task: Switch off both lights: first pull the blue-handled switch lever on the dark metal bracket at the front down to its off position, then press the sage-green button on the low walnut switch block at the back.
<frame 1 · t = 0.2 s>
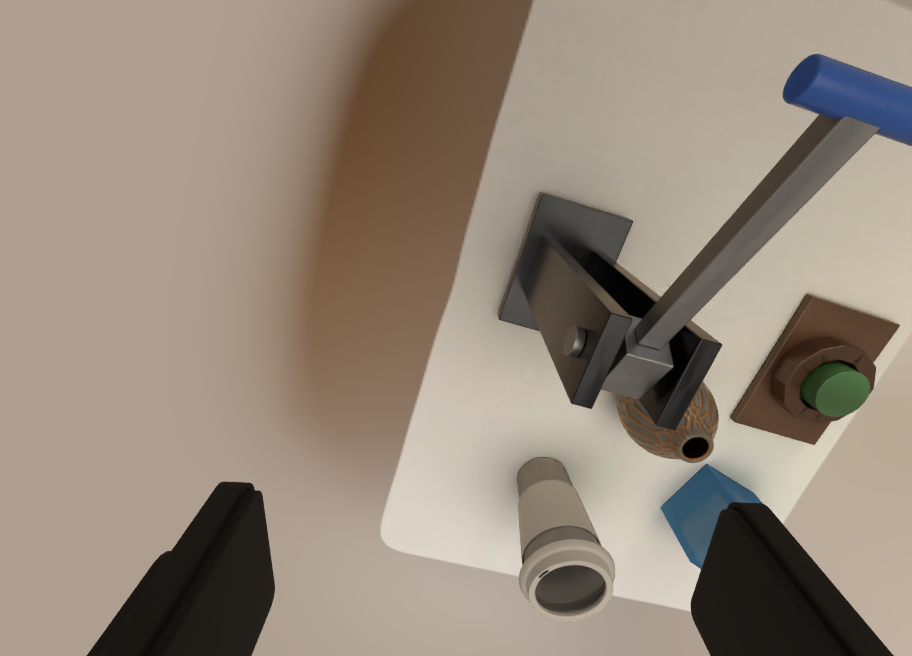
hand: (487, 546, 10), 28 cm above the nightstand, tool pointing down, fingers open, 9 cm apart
button block: (808, 371, 40), on the nightstand
perfume bottle: (706, 499, 45), on the nightstand
light button: (834, 389, 37), point 3 cm above the nightstand, slide at 0.1 cm
vase: (647, 385, 40), on the nightstand
cup: (541, 476, 44), on the nightstand
light lever: (710, 271, 17), point 19 cm above the nightstand, hinge at 28.0°
switch bracket: (560, 268, 36), on the nightstand
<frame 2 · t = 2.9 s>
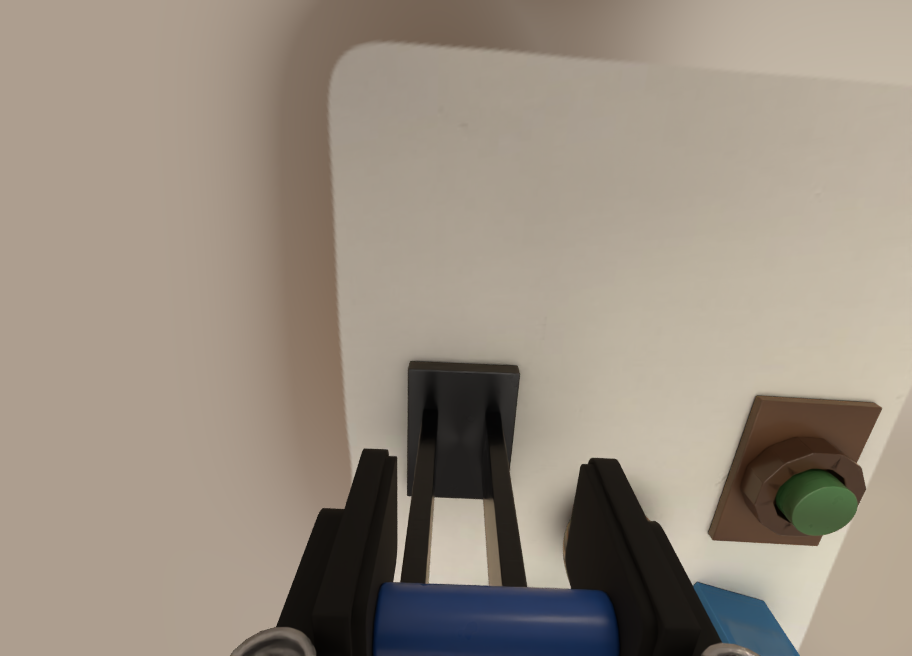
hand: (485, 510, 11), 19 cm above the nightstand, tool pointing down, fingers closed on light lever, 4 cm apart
button block: (785, 472, 33), on the nightstand
perfume bottle: (709, 614, 39), on the nightstand
light button: (815, 502, 31), point 3 cm above the nightstand, slide at 0.1 cm
switch bracket: (460, 428, 32), on the nightstand
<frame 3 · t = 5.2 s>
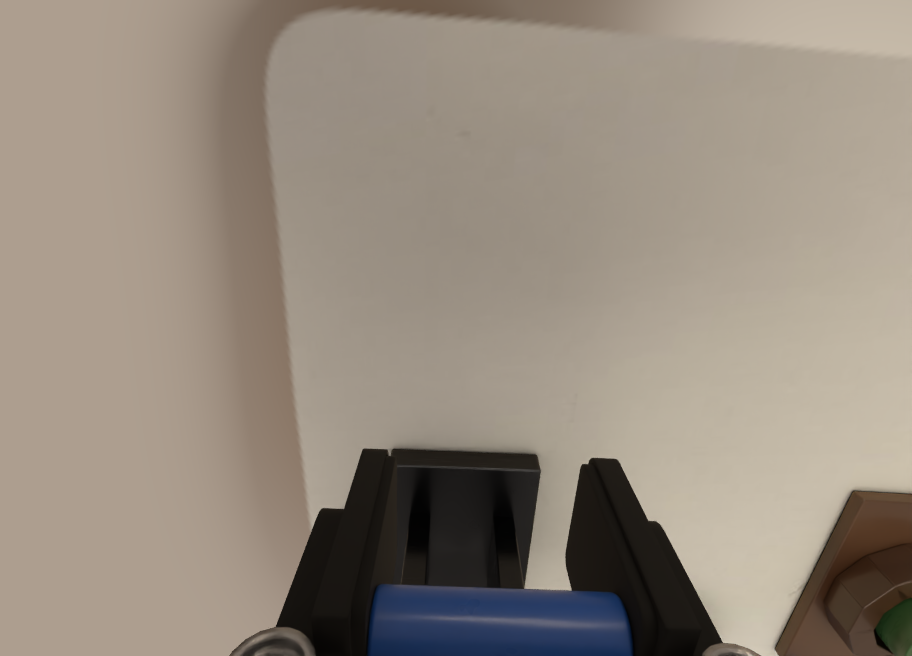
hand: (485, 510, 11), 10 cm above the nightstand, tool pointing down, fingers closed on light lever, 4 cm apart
button block: (881, 580, 26), on the nightstand
switch bracket: (459, 530, 24), on the nightstand
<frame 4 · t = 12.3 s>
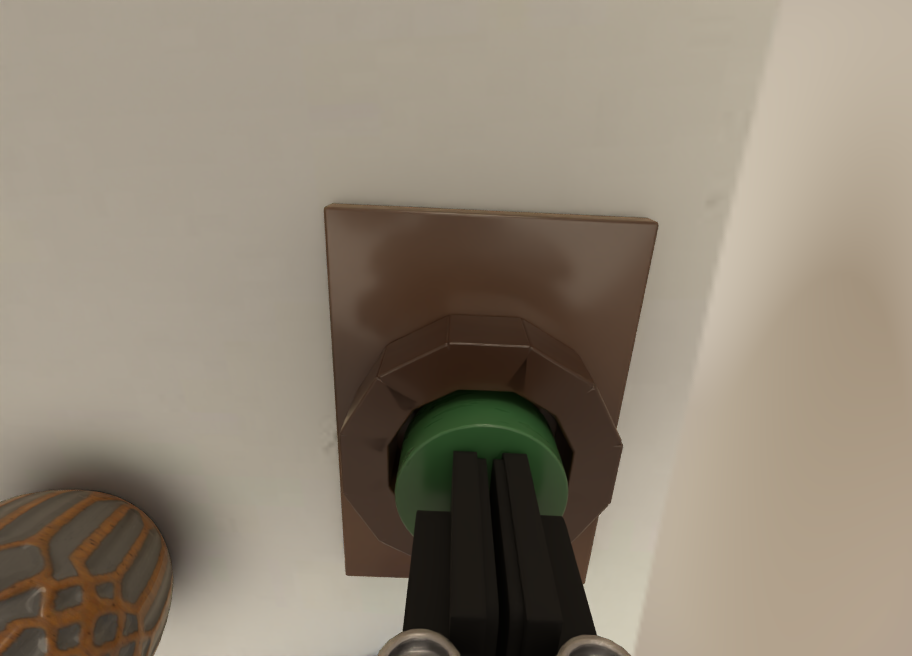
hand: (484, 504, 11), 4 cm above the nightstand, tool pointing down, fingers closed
button block: (475, 415, 14), on the nightstand
light button: (479, 473, 12), point 3 cm above the nightstand, slide at -0.3 cm, touching gripper
vase: (108, 532, 16), on the nightstand
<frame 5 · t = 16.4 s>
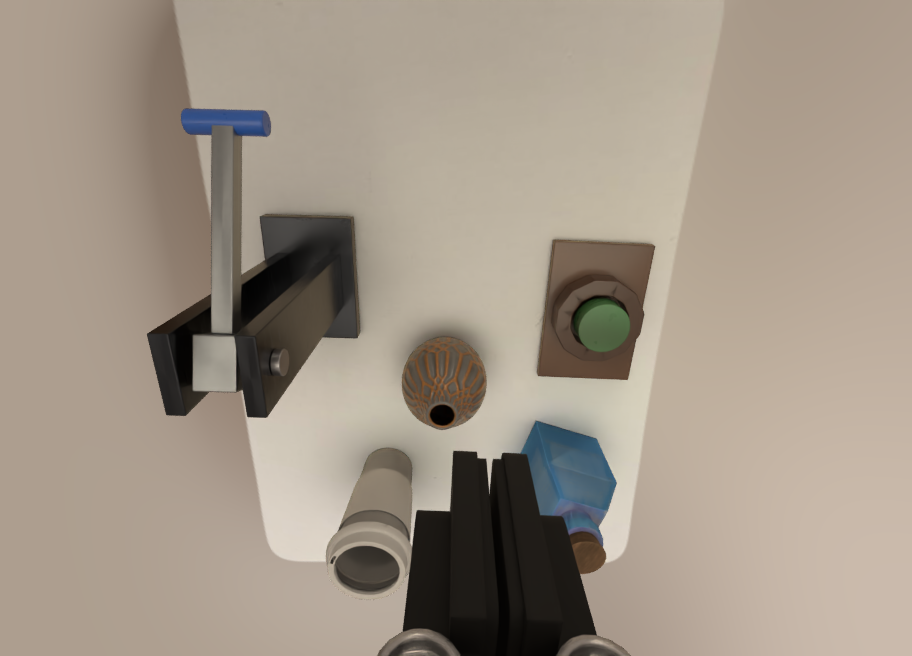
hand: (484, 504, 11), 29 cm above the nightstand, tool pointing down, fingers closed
button block: (591, 311, 40), on the nightstand
perfume bottle: (553, 454, 46), on the nightstand
light button: (601, 324, 37), point 3 cm above the nightstand, slide at 0.1 cm
vase: (445, 361, 42), on the nightstand
cup: (389, 466, 46), on the nightstand
light lever: (226, 251, 24), point 14 cm above the nightstand, hinge at -19.5°
switch bracket: (315, 276, 39), on the nightstand
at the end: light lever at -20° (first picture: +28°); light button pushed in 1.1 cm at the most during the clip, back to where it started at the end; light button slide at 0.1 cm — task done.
